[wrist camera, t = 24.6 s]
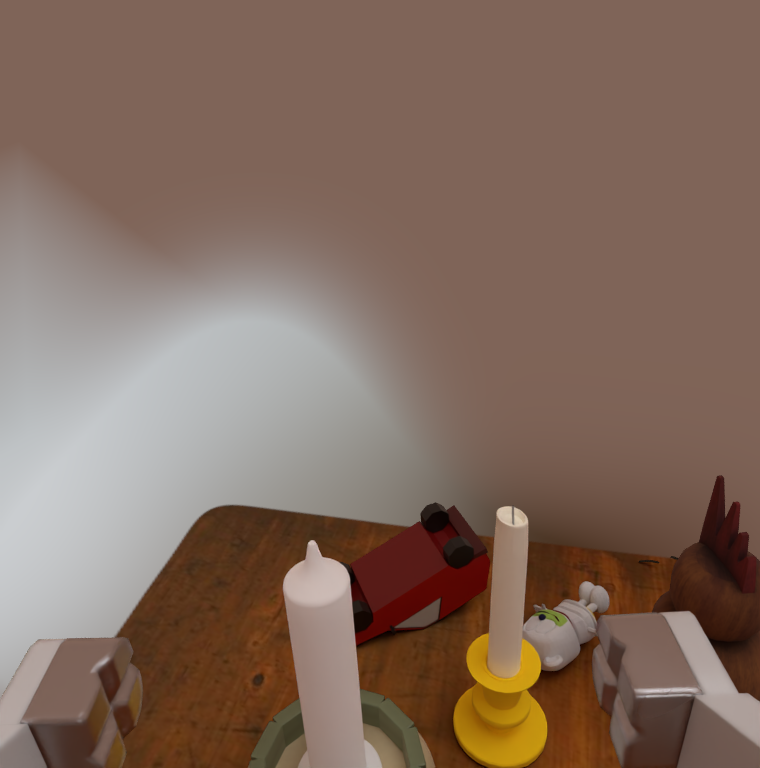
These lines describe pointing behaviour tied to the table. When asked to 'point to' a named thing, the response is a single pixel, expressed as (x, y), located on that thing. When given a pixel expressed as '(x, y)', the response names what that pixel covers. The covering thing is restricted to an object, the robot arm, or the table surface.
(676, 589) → the wooden figurine
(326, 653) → the candle
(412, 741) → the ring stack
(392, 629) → the toy truck
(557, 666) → the toy
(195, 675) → the table surface
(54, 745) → the robot arm
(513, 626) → the candle
